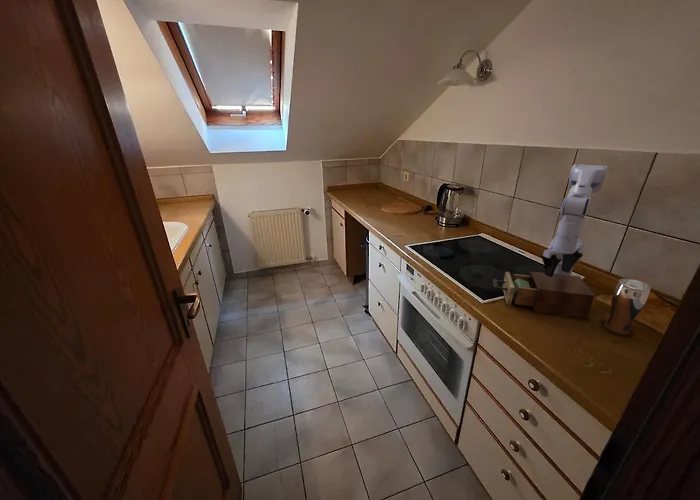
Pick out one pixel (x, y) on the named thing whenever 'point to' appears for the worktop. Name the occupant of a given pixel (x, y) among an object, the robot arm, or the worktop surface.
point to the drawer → (523, 294)
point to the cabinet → (562, 295)
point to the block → (520, 285)
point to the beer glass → (626, 305)
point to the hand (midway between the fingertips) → (556, 273)
